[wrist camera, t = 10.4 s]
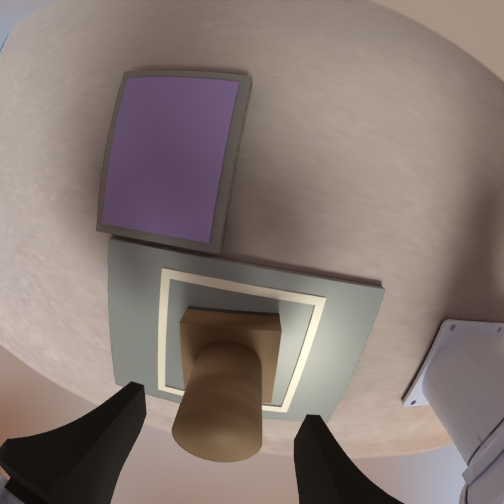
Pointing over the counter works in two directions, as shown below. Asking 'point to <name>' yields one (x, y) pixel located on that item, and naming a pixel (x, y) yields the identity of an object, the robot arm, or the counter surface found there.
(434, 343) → the robot arm
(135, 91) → the ink pad
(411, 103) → the counter surface
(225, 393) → the stamp
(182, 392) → the board
